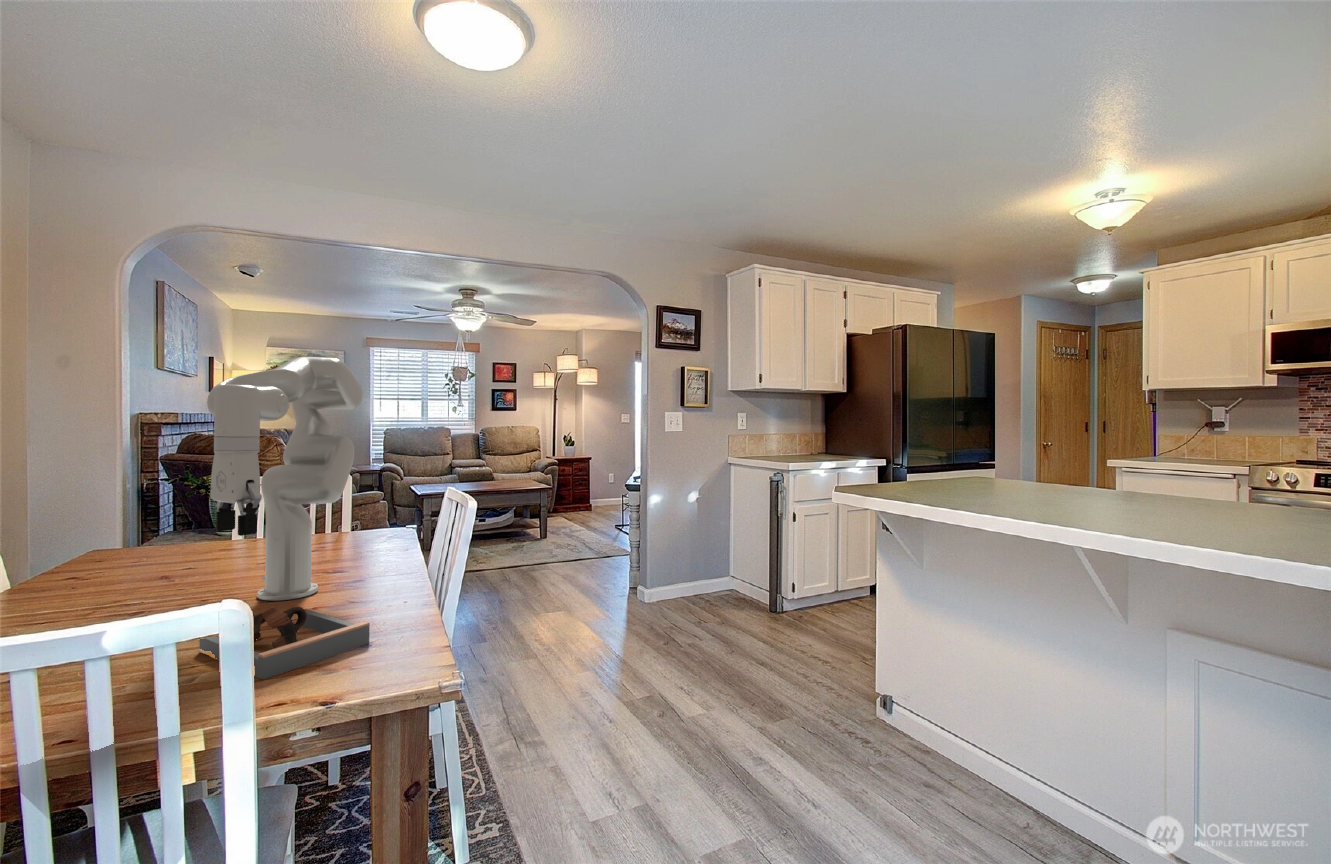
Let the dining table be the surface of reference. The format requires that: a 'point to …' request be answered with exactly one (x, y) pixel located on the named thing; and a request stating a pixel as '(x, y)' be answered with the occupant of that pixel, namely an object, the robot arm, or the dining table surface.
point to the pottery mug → (280, 624)
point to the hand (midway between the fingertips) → (236, 531)
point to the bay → (304, 645)
